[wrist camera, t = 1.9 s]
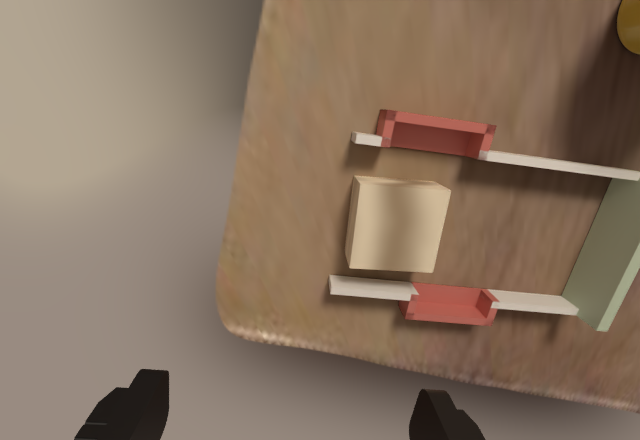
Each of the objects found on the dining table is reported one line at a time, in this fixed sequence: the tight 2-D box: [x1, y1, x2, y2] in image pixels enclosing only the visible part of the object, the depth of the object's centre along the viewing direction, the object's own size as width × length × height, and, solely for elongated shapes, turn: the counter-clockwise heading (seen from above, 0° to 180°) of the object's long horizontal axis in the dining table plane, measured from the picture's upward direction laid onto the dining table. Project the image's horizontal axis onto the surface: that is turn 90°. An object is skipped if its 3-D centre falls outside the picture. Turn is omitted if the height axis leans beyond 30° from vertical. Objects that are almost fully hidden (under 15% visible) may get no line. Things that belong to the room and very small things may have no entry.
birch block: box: [344, 175, 451, 273], centre depth 31 cm, size 8×8×4 cm
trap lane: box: [328, 110, 640, 331], centre depth 31 cm, size 28×20×5 cm
